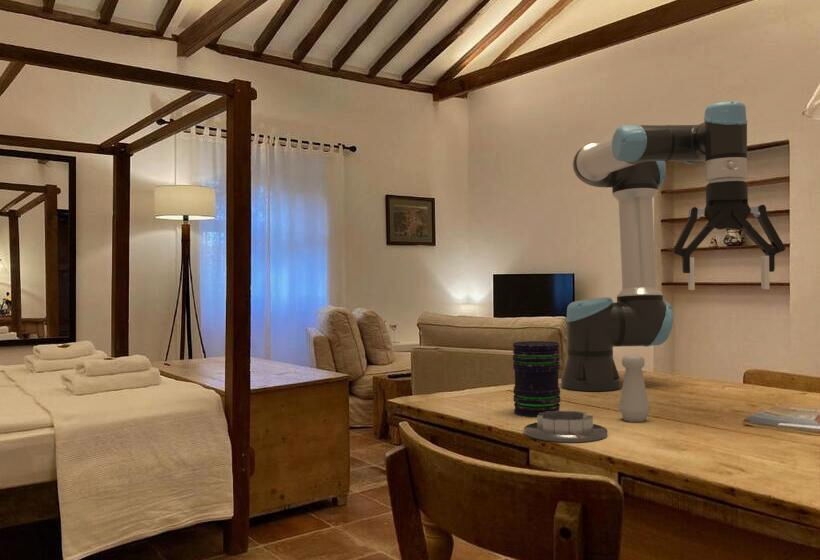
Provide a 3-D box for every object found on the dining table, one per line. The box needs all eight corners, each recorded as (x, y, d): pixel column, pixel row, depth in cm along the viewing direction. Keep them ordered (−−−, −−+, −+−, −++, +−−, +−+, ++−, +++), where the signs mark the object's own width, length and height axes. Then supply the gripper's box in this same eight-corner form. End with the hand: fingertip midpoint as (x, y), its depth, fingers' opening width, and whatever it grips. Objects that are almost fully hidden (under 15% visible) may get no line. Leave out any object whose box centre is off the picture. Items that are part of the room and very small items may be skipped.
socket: (513, 427, 134) (513, 410, 134) (586, 423, 136) (585, 406, 136) (541, 445, 119) (541, 425, 119) (622, 440, 122) (622, 421, 122)
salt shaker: (623, 416, 143) (622, 353, 143) (652, 418, 140) (651, 354, 140) (616, 421, 138) (614, 356, 138) (645, 424, 135) (644, 357, 135)
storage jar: (567, 411, 149) (565, 342, 149) (551, 419, 141) (550, 346, 141) (523, 407, 154) (522, 340, 154) (506, 415, 146) (505, 344, 146)
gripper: (662, 182, 136) (664, 290, 136) (802, 176, 130) (803, 289, 130) (657, 187, 143) (658, 289, 143) (789, 181, 138) (790, 288, 138)
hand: (728, 289), depth 137 cm, fingers open, 13 cm apart
